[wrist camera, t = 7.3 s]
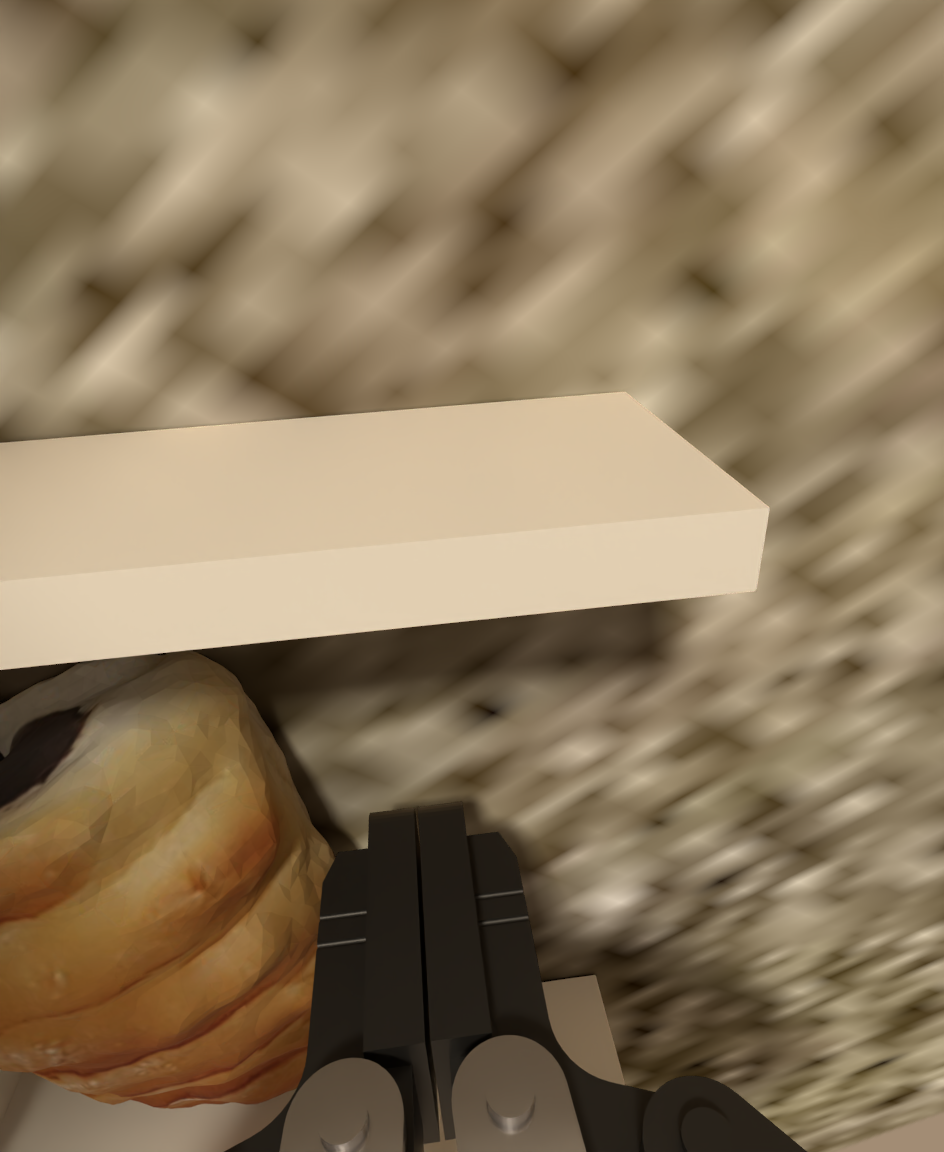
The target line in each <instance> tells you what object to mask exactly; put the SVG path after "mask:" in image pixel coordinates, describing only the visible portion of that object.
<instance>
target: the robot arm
mask: <svg viewBox="0 0 944 1152" xmlns="http://www.w3.org/2000/svg"><path fill="white" fill-rule="evenodd" d="M418 819H419V836H418V828H417V820H416V813H415V808H408V809H400V810H391V811H383V812H375V813H370V815H369V834H368V849H361V850H353V851H345V852H338V854H337V856H336V858H335V860H334V862H333V864H332V866H331V867H330V869H329V871H328V873H327V875H326V877H325V879H324V881H323V883H322V894H321V905H320V922H319V927H318V938H317V950H316V960H315V971H314V982H313V993H312V1004H311V1015H310V1026H309V1037H308V1048H307V1057H306V1063H305V1068H304V1071H303V1074H302V1078H301V1080H300V1082H299V1084H298V1087H297V1089H296V1091H295V1092H294V1094H293V1096H292V1098H291V1099H290V1101H289V1102H288V1104H287V1105H286V1106H285V1107H284V1109H283V1110H282V1111H281V1113H280V1114H279V1115H278V1116H277V1117H276V1118H275V1119H274V1120H273V1121H272V1122H271V1123H270V1124H268V1125H267V1126H266V1127H265V1128H263V1129H262V1130H261V1131H259V1132H258V1133H256V1134H255V1135H253V1136H251V1137H250V1138H248V1139H246V1140H244V1141H243V1142H241V1143H239V1144H237V1145H235V1146H233V1147H231V1148H230V1149H228V1150H226V1151H224V1152H424V1144H428V1143H435V1142H440V1130H439V1113H438V1096H437V1088H438V1095H439V1102H440V1108H441V1115H442V1122H443V1129H444V1136H445V1140H451V1139H456V1143H457V1151H458V1152H807V1151H805V1150H804V1149H803V1148H802V1147H801V1146H799V1145H798V1144H797V1143H796V1142H795V1141H793V1140H792V1139H791V1138H790V1137H789V1136H787V1135H786V1134H785V1133H784V1132H783V1131H781V1130H780V1129H779V1128H778V1127H777V1126H775V1125H774V1124H773V1123H772V1122H771V1121H769V1120H768V1119H767V1118H766V1117H765V1116H763V1115H762V1114H761V1113H760V1112H759V1111H757V1110H756V1109H755V1108H754V1107H753V1106H751V1105H750V1104H749V1103H748V1102H747V1101H745V1100H744V1099H743V1098H742V1097H741V1096H739V1095H738V1094H737V1093H735V1092H734V1091H733V1090H731V1089H730V1088H729V1087H727V1086H725V1085H723V1084H721V1083H719V1082H717V1081H715V1080H712V1079H709V1078H706V1077H700V1076H683V1077H679V1078H675V1079H673V1080H671V1081H668V1082H667V1083H665V1084H664V1085H663V1086H661V1087H660V1088H659V1089H658V1090H657V1091H656V1092H652V1091H647V1090H643V1089H639V1088H634V1087H630V1086H626V1085H621V1084H617V1083H613V1082H609V1081H606V1080H603V1079H600V1078H597V1077H595V1076H593V1075H591V1074H589V1073H588V1072H586V1071H585V1070H583V1069H582V1068H580V1067H579V1066H578V1065H577V1064H576V1063H575V1062H573V1061H572V1060H571V1059H570V1058H569V1057H568V1055H567V1054H566V1053H565V1052H564V1050H563V1049H562V1048H561V1046H560V1044H559V1043H558V1041H557V1040H556V1037H555V1035H554V1033H553V1030H552V1028H551V1024H550V1020H549V1016H548V1011H547V1006H546V1001H545V996H544V991H543V986H542V981H541V976H540V971H539V966H538V961H537V956H536V951H535V946H534V941H533V936H532V931H531V926H530V921H529V918H528V911H527V906H526V901H525V896H524V893H523V886H522V881H521V876H520V871H519V867H518V862H517V857H516V856H515V854H514V853H513V851H512V850H511V849H510V847H509V846H508V845H507V843H506V842H505V840H504V839H503V838H502V836H501V835H500V834H499V832H494V833H486V834H478V835H470V836H467V835H466V828H465V820H464V812H463V805H462V802H455V803H447V804H438V805H430V806H422V807H418ZM419 837H420V843H419Z"/></svg>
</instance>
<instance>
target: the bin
mask: <svg viewBox="0 0 944 1152" xmlns="http://www.w3.org/2000/svg"><path fill="white" fill-rule="evenodd" d="M769 509H770V508H769V507H768V506H767V505H766V504H765V503H763V502H762V501H761V500H760V499H758V498H757V497H756V496H755V495H753V494H752V493H751V492H750V491H748V490H747V489H746V488H745V487H743V486H742V485H741V484H740V483H738V482H737V481H736V480H735V479H733V478H732V477H731V476H730V475H728V474H727V473H726V472H725V471H723V470H722V469H721V468H720V467H718V466H717V465H716V464H715V463H713V462H712V461H711V460H710V459H709V458H707V457H706V456H705V455H704V454H702V453H701V452H700V451H699V450H697V449H696V448H695V447H694V446H692V445H691V444H690V443H689V442H687V441H686V440H685V439H684V438H682V437H681V436H680V435H679V434H677V433H676V432H675V431H674V430H672V429H671V428H670V427H669V426H667V425H666V424H665V423H664V422H662V421H661V420H660V419H659V418H657V417H656V416H655V415H654V414H653V413H651V412H650V411H649V410H648V409H646V408H645V407H644V406H643V405H641V404H640V403H639V402H638V401H636V400H635V399H634V398H633V397H631V396H630V395H629V394H628V393H626V392H614V393H602V394H590V395H578V396H566V397H553V398H541V399H529V400H517V401H505V402H493V403H480V404H468V405H456V406H444V407H432V408H420V409H407V410H395V411H383V412H371V413H359V414H347V415H334V416H322V417H310V418H298V419H286V420H274V421H261V422H249V423H237V424H225V425H213V426H201V427H188V428H176V429H164V430H152V431H140V432H127V433H115V434H103V435H91V436H79V437H67V438H54V439H42V440H30V441H18V442H6V443H0V670H4V669H14V668H23V667H33V666H42V665H52V664H62V663H71V662H81V661H90V660H100V659H109V658H119V657H129V656H138V655H148V654H157V653H167V652H176V651H186V650H196V649H205V648H215V647H224V646H234V645H243V644H253V643H263V642H272V641H282V640H291V639H301V638H311V637H320V636H330V635H339V634H349V633H358V632H368V631H378V630H387V629H397V628H406V627H416V626H425V625H435V624H445V623H454V622H464V621H473V620H483V619H493V618H502V617H512V616H521V615H531V614H540V613H550V612H560V611H569V610H579V609H588V608H598V607H607V606H617V605H627V604H636V603H646V602H655V601H665V600H675V599H684V598H694V597H703V596H713V595H722V594H732V593H742V592H751V591H756V590H757V583H758V577H759V571H760V565H761V559H762V553H763V546H764V540H765V534H766V528H767V522H768V515H769ZM542 986H543V991H544V996H545V1001H546V1006H547V1011H548V1016H549V1020H550V1024H551V1028H552V1030H553V1033H554V1035H555V1037H556V1040H557V1041H558V1043H559V1044H560V1046H561V1048H562V1049H563V1050H564V1052H565V1053H566V1054H567V1055H568V1057H569V1058H570V1059H571V1060H572V1061H573V1062H575V1063H576V1064H577V1065H578V1066H579V1067H580V1068H582V1069H583V1070H585V1071H586V1072H588V1073H589V1074H591V1075H593V1076H595V1077H597V1078H600V1079H603V1080H606V1081H609V1082H613V1083H617V1084H621V1085H625V1081H624V1077H623V1074H622V1070H621V1067H620V1063H619V1059H618V1056H617V1052H616V1048H615V1045H614V1041H613V1037H612V1034H611V1030H610V1026H609V1023H608V1019H607V1015H606V1012H605V1008H604V1004H603V1001H602V997H601V993H600V990H599V986H598V982H597V979H596V975H590V976H583V977H576V978H569V979H562V980H555V981H548V982H542ZM296 1089H297V1088H296ZM296 1089H294V1090H292V1091H288V1092H285V1093H283V1094H282V1095H279V1096H277V1097H274V1098H272V1099H270V1100H267V1101H265V1102H262V1103H259V1104H247V1105H246V1104H241V1103H235V1102H234V1103H233V1102H230V1103H226V1104H200V1105H196V1106H193V1107H189V1108H174V1109H169V1108H166V1109H165V1108H156V1107H152V1106H149V1105H146V1104H144V1103H141V1102H138V1101H133V1100H128V1101H125V1102H123V1103H119V1104H115V1105H111V1104H107V1103H103V1102H99V1101H96V1100H94V1099H91V1098H89V1097H87V1096H85V1095H83V1094H81V1093H78V1092H71V1091H68V1090H66V1089H64V1088H62V1087H60V1086H58V1085H56V1084H54V1083H52V1082H50V1081H48V1080H46V1079H44V1078H42V1077H40V1076H38V1075H36V1074H34V1073H32V1072H29V1073H26V1072H12V1071H3V1070H0V1152H224V1151H226V1150H228V1149H230V1148H231V1147H233V1146H235V1145H237V1144H239V1143H241V1142H243V1141H244V1140H246V1139H248V1138H250V1137H251V1136H253V1135H255V1134H256V1133H258V1132H259V1131H261V1130H262V1129H263V1128H265V1127H266V1126H267V1125H268V1124H270V1123H271V1122H272V1121H273V1120H274V1119H275V1118H276V1117H277V1116H278V1115H279V1114H280V1113H281V1111H282V1110H283V1109H284V1107H285V1106H286V1105H287V1104H288V1102H289V1101H290V1099H291V1098H292V1096H293V1094H294V1092H295V1091H296ZM437 1096H438V1113H439V1130H440V1142H435V1143H428V1144H424V1152H458V1151H457V1143H456V1139H451V1140H445V1136H444V1129H443V1122H442V1115H441V1108H440V1102H439V1095H438V1088H437Z"/></svg>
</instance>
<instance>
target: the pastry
mask: <svg viewBox="0 0 944 1152" xmlns="http://www.w3.org/2000/svg"><path fill="white" fill-rule="evenodd" d="M334 860H335V856H334V854H333V851H332V850H331V848H330V846H329V844H328V842H327V841H326V840H325V839H324V838H323V837H322V836H321V834H320V833H319V832H318V831H317V830H316V829H315V828H314V826H313V825H312V824H311V820H310V817H309V814H308V812H307V809H306V806H305V804H304V803H303V801H302V799H301V797H300V796H299V794H298V792H297V790H296V787H295V785H294V783H293V780H292V778H291V775H290V771H289V769H288V767H287V764H286V759H285V756H284V754H283V752H282V751H281V749H280V748H279V746H278V745H277V743H276V741H275V739H274V737H273V735H272V733H271V731H270V730H269V728H268V727H267V725H266V724H265V722H264V721H263V719H262V718H261V716H260V714H259V712H258V710H257V708H256V706H255V705H254V703H253V702H252V701H251V700H250V698H249V697H248V696H247V695H246V694H245V693H244V691H243V688H242V686H241V684H240V682H239V681H238V679H237V678H236V676H235V675H234V674H232V673H231V672H230V671H228V670H227V669H226V668H224V667H223V666H221V665H220V664H218V663H216V662H213V661H212V660H210V659H208V658H207V657H205V656H203V655H201V654H199V653H196V652H194V651H191V650H186V651H176V652H170V653H168V654H166V655H153V654H148V655H138V656H129V657H119V658H109V659H100V660H90V661H86V662H82V663H78V664H76V665H75V666H73V667H72V668H70V669H68V670H67V671H65V672H64V673H62V674H60V675H58V676H56V677H53V678H50V679H47V680H44V681H42V682H39V683H37V684H35V685H33V686H32V687H30V688H28V689H26V690H24V691H23V692H21V693H19V694H17V695H15V696H14V697H13V698H11V699H10V700H8V701H7V702H5V703H3V704H1V705H0V1070H3V1071H12V1072H26V1073H29V1072H32V1073H34V1074H36V1075H38V1076H40V1077H42V1078H44V1079H46V1080H48V1081H50V1082H52V1083H54V1084H56V1085H58V1086H60V1087H62V1088H64V1089H66V1090H68V1091H71V1092H78V1093H81V1094H83V1095H85V1096H87V1097H89V1098H91V1099H94V1100H96V1101H99V1102H103V1103H107V1104H111V1105H115V1104H119V1103H123V1102H125V1101H128V1100H133V1101H138V1102H141V1103H144V1104H146V1105H149V1106H152V1107H156V1108H165V1109H166V1108H169V1109H174V1108H189V1107H193V1106H196V1105H200V1104H226V1103H230V1102H233V1103H234V1102H235V1103H241V1104H246V1105H247V1104H259V1103H262V1102H265V1101H267V1100H270V1099H272V1098H274V1097H277V1096H279V1095H282V1094H283V1093H285V1092H288V1091H292V1090H294V1089H296V1088H297V1087H298V1084H299V1082H300V1080H301V1078H302V1074H303V1071H304V1068H305V1063H306V1057H307V1048H308V1037H309V1026H310V1015H311V1004H312V993H313V982H314V971H315V960H316V950H317V938H318V927H319V922H320V905H321V894H322V883H323V881H324V879H325V877H326V875H327V873H328V871H329V869H330V867H331V866H332V864H333V862H334Z"/></svg>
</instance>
